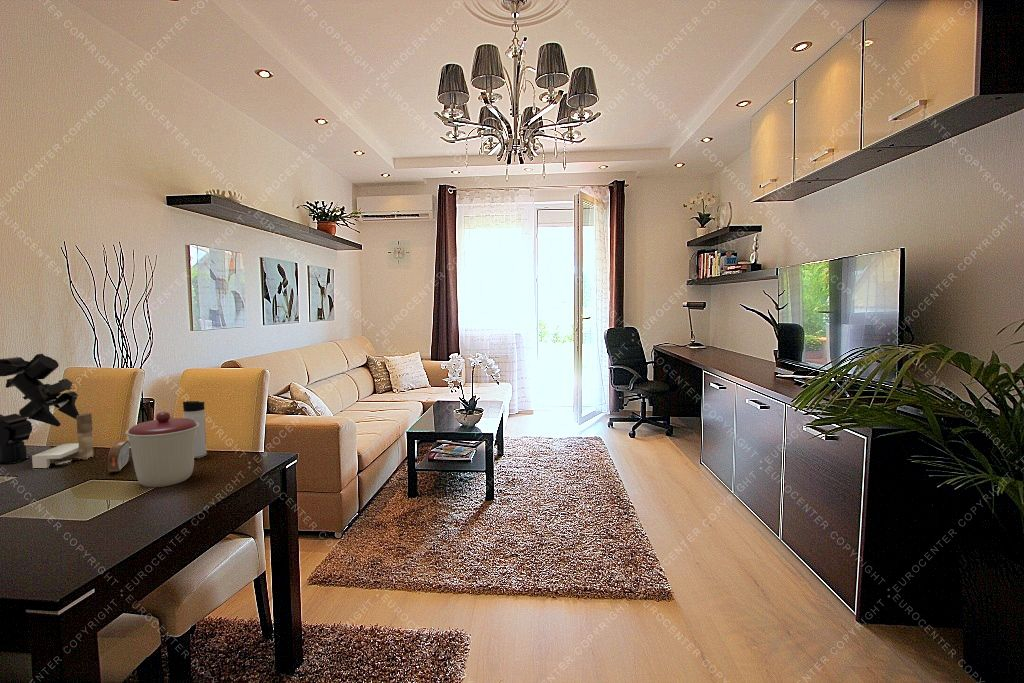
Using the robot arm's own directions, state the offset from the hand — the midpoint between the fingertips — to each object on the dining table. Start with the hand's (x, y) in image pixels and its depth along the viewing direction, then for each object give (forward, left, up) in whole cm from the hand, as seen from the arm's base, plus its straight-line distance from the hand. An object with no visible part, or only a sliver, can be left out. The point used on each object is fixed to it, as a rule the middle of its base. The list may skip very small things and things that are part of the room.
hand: (69, 422), depth 170 cm
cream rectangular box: (-1, -3, -13) cm, 13 cm away
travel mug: (+40, -3, -13) cm, 42 cm away
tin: (+21, -12, -13) cm, 28 cm away
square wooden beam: (+1, -3, -13) cm, 13 cm away
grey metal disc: (0, -5, -13) cm, 14 cm away
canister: (+42, -27, -13) cm, 52 cm away
